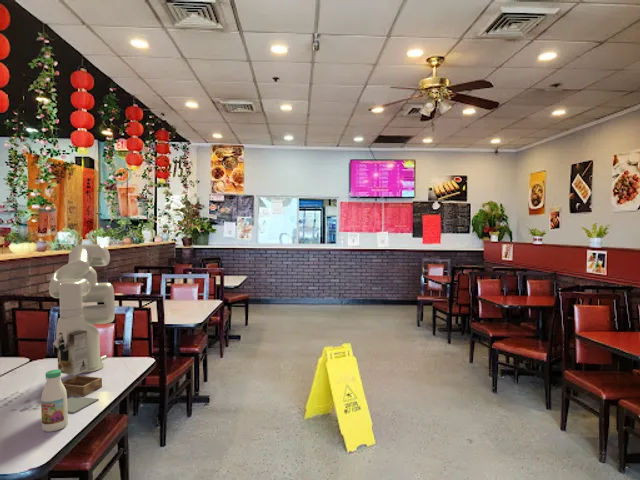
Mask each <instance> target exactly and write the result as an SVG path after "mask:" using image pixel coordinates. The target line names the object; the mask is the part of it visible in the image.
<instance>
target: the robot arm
mask: <svg viewBox="0 0 640 480" xmlns="http://www.w3.org/2000/svg"><path fill="white" fill-rule="evenodd" d="M110 260H111V255H110V251H109V250H108V247H106V246H105V245H103V244H100V243H98V244H97V243H96V244H95V243H94V244H92V243H91V244H89V243H87V244H79V245H78V244H77V245H75V246H73V248H72V249H71V251H70V252H69V253H68V263H67V264H64V265H62V266H61V267H60V268H57V269H56V270H55V271H54V272H53V273H52V276H51V278H50V282H49V284H48V294H49V295H50V296H51V297H52V298H54V299H59V318H57V323H56V334H55V335H56V336H55V340H54V342H53V343H52V345H53V346H54V347H55V348H56V350H57V351H58V350H59V351H60V357H61V361H68V360H69V357H68V351H67V348H68V343H69V334H72V333H75V332H78V331H82V330H83V331H87V367H88V370H87V371H84V372H82V373H81V374H83V373H84V374H87V373H93V372H96V371H99V370H101V369H104V367H105V364H104V363H103V361H104V360H107V359H108V357H107V355H103V356H101V349H100V348H101V345H100V343H101V342H100V331H99V330H98V328H97V327H96V326H95V325H102V324H103V325H104V324H109V323H110V324H111V323H113V322H114V321H115V317H116V316H115V315H116V311H115V308H116V306H115V289H114V286H113V284H112V283H111V282H98V275H97V271H96V269H94V268H93V267H106V266H107V265H109V264H110ZM83 303H85V304H87V303H89V305H83ZM91 303H102V304H91ZM103 303H104V304H103ZM61 340H62V341H61ZM63 341H64V342H63ZM60 343H61V344H60ZM64 344H65V346H64ZM63 346H64V347H63Z"/></svg>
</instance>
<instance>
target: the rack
mask: <svg viewBox="0 0 640 480" xmlns="http://www.w3.org/2000/svg"><path fill="white" fill-rule="evenodd" d="M102 379H103V378H102V377H99V376H98V377H96V376H87V375H79V374H77V375H73V376H72V377H70V378H67V379H65V380H62V383H63V385H64V387H65V389H66V393H67V396H68V395H70V396H77V397H85V396H87V395H88V394H90V393H92V392H93V393H94V392H95V391H96V390H99V389H102V387H103V380H102Z"/></svg>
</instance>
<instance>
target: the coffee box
mask: <svg viewBox="0 0 640 480" xmlns="http://www.w3.org/2000/svg"><path fill="white" fill-rule="evenodd" d="M61 341H62V340H61ZM63 342H64V341H63ZM60 344H61V343H60ZM64 346H65V344H64ZM64 346H63V347H64ZM67 351H68V357H69V360H68V361H61V357H60V351H59V350H58V349H57V370H61V374H65V375H71V376H76V375H79V374H83V373H82V372H84V371H87V370H88V367H87V331H83V330H82V331H78V332H75V333H72V334H69V343H68V348H67Z"/></svg>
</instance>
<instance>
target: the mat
mask: <svg viewBox="0 0 640 480" xmlns="http://www.w3.org/2000/svg"><path fill="white" fill-rule="evenodd" d="M98 401H99V398H95V397H94V398H91V397H85V396H75V395H72V396H71V397H69V398H67V411H68V414H73V415H74V414H76V413H78V412H81V410H83V409H85V408H88V407H89V406H91V405H92V404H94V403H96V402H98Z"/></svg>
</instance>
